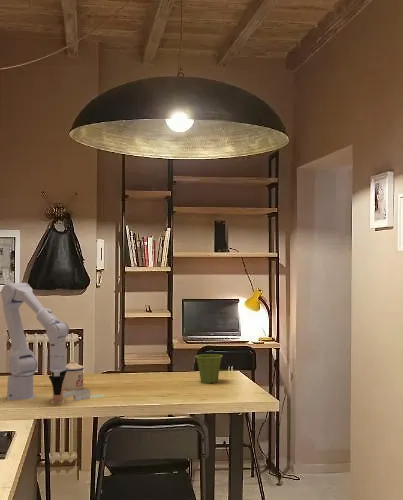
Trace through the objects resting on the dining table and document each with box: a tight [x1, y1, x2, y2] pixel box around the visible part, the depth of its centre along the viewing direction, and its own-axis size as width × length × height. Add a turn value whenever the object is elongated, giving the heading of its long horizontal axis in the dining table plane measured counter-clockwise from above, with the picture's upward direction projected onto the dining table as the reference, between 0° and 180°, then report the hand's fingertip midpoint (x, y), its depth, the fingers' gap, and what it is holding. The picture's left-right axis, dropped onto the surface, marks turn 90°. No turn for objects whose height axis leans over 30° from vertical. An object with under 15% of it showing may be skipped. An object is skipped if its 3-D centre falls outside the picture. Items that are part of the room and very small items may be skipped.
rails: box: [63, 389, 91, 402], centre depth 244 cm, size 12×12×2 cm
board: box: [51, 394, 105, 404], centre depth 243 cm, size 20×15×1 cm
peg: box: [52, 383, 64, 404], centre depth 237 cm, size 4×4×7 cm
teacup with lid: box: [63, 359, 84, 392], centre depth 265 cm, size 12×9×12 cm
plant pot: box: [195, 353, 224, 384], centre depth 277 cm, size 12×12×11 cm
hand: (58, 392), depth 237 cm, fingers open, 7 cm apart
